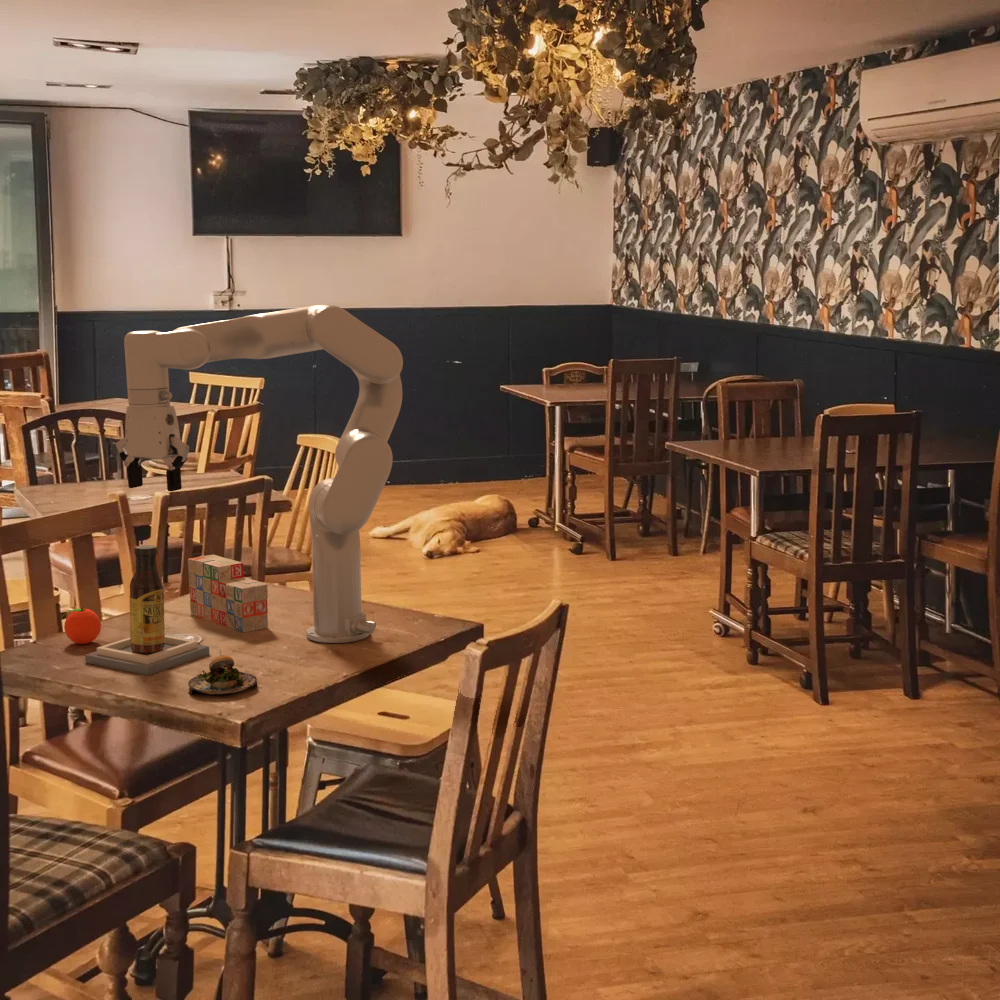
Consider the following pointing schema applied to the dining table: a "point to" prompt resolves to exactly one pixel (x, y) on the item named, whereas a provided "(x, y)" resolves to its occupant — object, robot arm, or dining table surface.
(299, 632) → the dining table surface
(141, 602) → the sauce bottle
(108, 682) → the dining table surface
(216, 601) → the stack of blocks
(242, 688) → the burger
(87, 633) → the clementine
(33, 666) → the dining table surface
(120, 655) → the slate coaster board
